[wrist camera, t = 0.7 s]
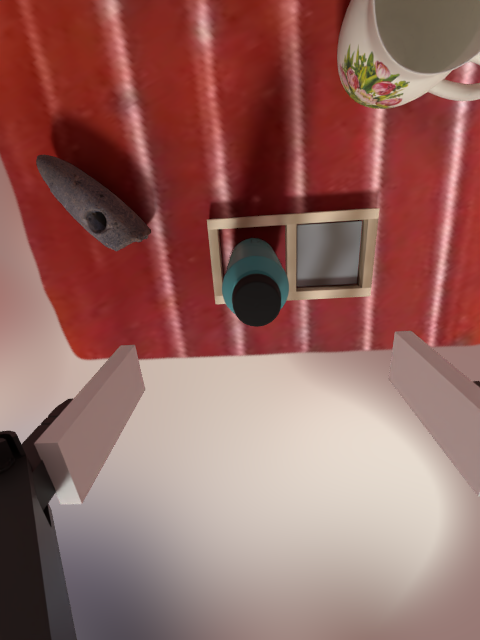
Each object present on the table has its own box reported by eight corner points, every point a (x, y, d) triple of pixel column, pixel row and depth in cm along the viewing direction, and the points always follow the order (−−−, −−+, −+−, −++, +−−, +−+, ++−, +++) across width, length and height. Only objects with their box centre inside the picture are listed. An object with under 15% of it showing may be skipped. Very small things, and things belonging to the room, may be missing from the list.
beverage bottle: (220, 256, 42) (196, 301, 23) (257, 224, 40) (263, 245, 21) (249, 290, 43) (249, 358, 25) (286, 261, 42) (315, 311, 23)
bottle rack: (217, 299, 44) (215, 304, 42) (208, 219, 40) (206, 220, 38) (365, 291, 43) (370, 296, 41) (373, 208, 39) (379, 208, 37)
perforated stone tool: (46, 174, 38) (5, 169, 32) (67, 141, 37) (29, 129, 31) (137, 256, 42) (117, 267, 36) (160, 229, 41) (144, 235, 34)
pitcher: (412, 159, 36) (500, 138, 24) (286, 77, 34) (309, 3, 21) (479, 59, 33) (626, -30, 20) (343, -42, 30) (412, -221, 17)
